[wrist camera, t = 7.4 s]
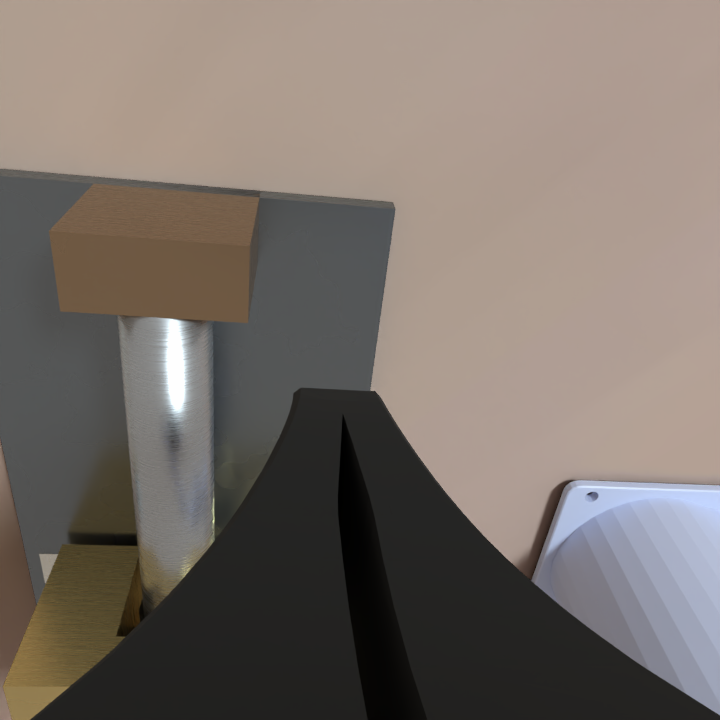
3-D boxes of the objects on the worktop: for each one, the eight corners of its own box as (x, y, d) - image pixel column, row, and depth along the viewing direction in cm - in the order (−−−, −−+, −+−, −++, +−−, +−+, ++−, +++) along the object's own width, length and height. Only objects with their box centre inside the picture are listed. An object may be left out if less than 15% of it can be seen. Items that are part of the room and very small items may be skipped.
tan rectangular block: (309, 549, 25) (310, 686, 20) (303, 618, 27) (302, 757, 22) (62, 544, 24) (3, 686, 19) (74, 616, 26) (23, 760, 21)
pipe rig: (393, 201, 19) (413, 260, 15) (329, 667, 30) (332, 766, 27) (-47, 164, 18) (-141, 219, 14) (57, 666, 29) (20, 771, 25)
